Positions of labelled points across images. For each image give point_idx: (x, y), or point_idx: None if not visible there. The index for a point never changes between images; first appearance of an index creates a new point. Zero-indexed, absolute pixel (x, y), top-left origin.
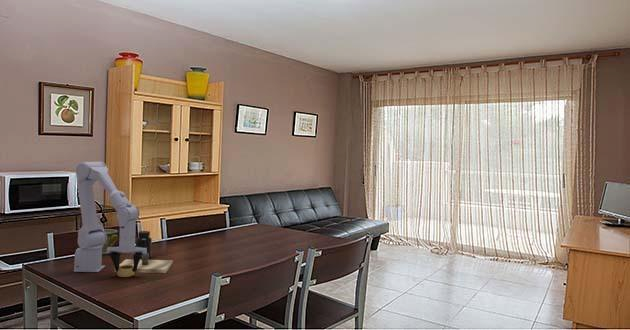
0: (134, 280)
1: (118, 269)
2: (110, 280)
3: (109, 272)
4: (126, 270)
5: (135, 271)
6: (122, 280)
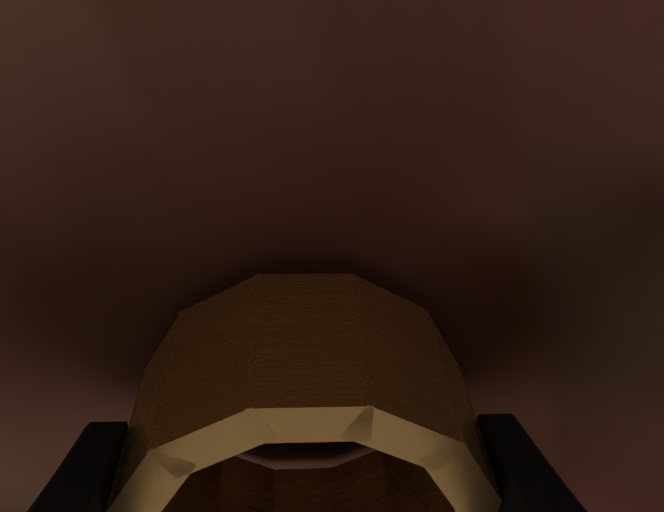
0: (6, 140)
1: (465, 432)
2: (554, 120)
3: (602, 494)
4: (241, 387)
5: (84, 438)
6: (286, 130)
